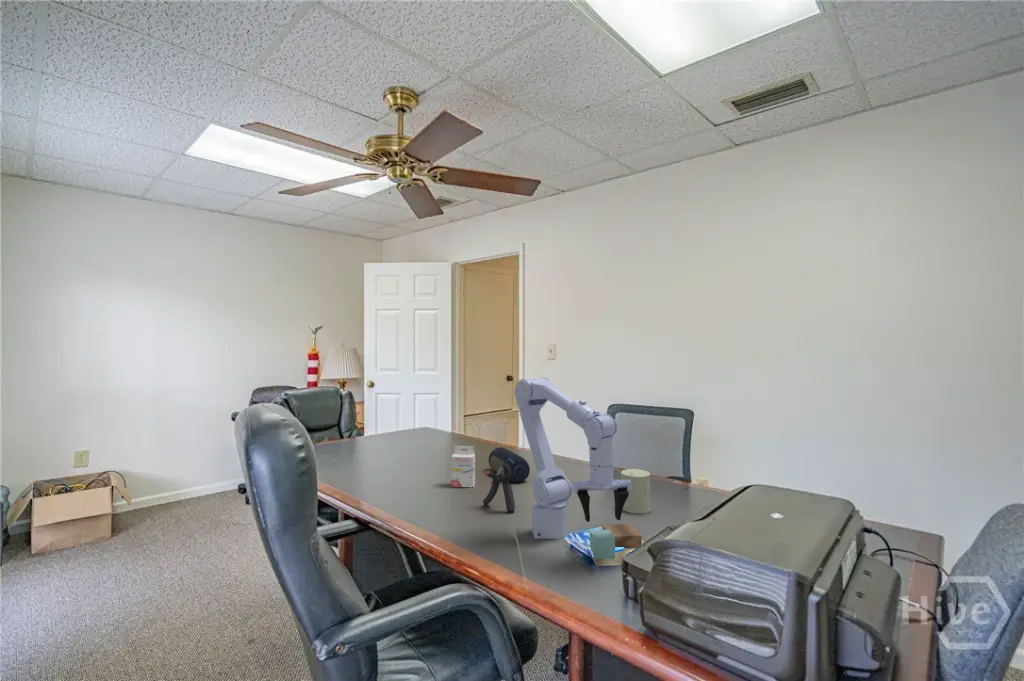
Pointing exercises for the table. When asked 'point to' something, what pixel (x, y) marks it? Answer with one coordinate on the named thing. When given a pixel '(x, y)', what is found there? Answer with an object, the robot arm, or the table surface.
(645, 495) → the can
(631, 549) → the birch board
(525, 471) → the portable speaker
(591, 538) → the teal cube
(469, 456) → the ink cartridge box
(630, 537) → the walnut base
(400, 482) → the table surface
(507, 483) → the hand grip strengthener
